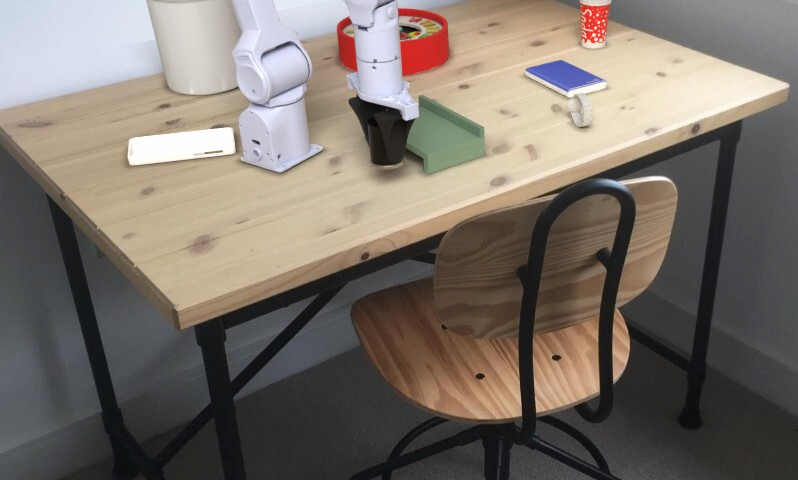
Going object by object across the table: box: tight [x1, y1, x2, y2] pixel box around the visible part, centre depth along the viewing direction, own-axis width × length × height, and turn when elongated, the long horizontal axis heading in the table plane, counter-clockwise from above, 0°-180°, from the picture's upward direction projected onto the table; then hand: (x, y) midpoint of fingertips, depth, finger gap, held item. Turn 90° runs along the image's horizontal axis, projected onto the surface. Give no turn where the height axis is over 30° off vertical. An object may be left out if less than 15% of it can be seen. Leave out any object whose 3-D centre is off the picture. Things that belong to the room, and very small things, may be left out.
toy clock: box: [336, 7, 450, 76], centre depth 175 cm, size 20×6×20 cm
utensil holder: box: [145, 0, 242, 96], centre depth 161 cm, size 15×15×18 cm
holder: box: [367, 117, 405, 170], centre depth 130 cm, size 5×5×6 cm
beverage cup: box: [578, 0, 613, 50], centre depth 178 cm, size 6×6×14 cm
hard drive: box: [524, 59, 607, 99], centre depth 166 cm, size 2×8×12 cm
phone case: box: [127, 126, 237, 166], centre depth 143 cm, size 7×1×15 cm
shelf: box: [405, 94, 486, 175], centre depth 143 cm, size 10×16×4 cm, turn 38°
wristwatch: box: [566, 93, 593, 128], centre depth 149 cm, size 3×5×5 cm, turn 21°
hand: (386, 152), depth 131 cm, fingers closed on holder, 4 cm apart
